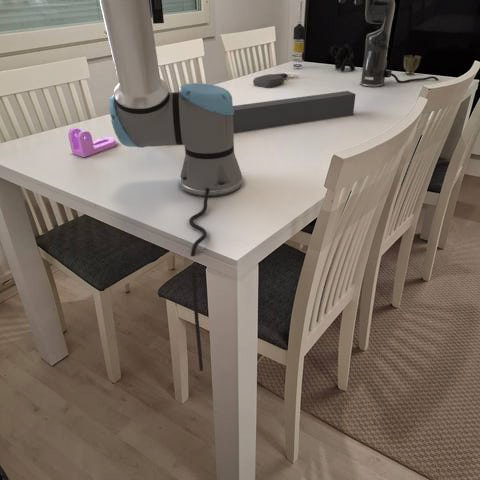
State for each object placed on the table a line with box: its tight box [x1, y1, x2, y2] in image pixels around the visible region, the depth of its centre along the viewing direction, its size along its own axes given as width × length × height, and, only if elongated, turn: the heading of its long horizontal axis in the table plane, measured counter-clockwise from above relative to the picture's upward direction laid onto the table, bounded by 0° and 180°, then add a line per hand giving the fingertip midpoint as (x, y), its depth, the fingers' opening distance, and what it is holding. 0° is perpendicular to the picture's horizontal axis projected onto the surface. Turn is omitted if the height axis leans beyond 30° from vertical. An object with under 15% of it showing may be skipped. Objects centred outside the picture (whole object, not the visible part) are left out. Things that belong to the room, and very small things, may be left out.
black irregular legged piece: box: [330, 43, 356, 72], centre depth 219 cm, size 11×10×15 cm
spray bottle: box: [252, 71, 300, 88], centre depth 201 cm, size 3×11×24 cm
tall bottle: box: [291, 0, 306, 69], centre depth 218 cm, size 6×6×30 cm
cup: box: [403, 54, 422, 76], centre depth 208 cm, size 8×7×8 cm
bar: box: [233, 90, 356, 134], centre depth 146 cm, size 72×5×7 cm, turn 113°
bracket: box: [67, 127, 117, 158], centre depth 130 cm, size 13×6×7 cm, turn 143°
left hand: (152, 20), depth 120 cm, fingers open, 13 cm apart
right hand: (349, 3), depth 139 cm, fingers open, 8 cm apart
